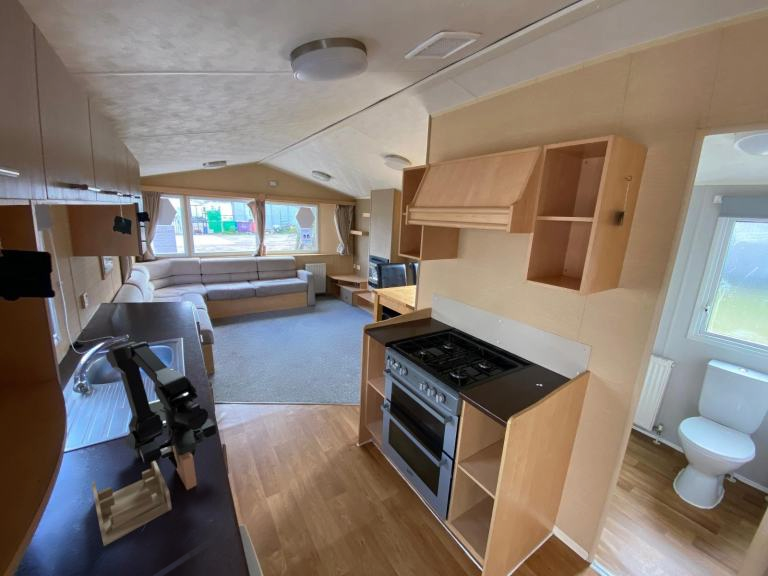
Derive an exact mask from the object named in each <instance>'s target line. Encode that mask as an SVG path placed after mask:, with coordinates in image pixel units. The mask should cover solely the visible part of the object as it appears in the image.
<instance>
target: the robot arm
mask: <svg viewBox="0 0 768 576" xmlns="http://www.w3.org/2000/svg"><path fill="white" fill-rule="evenodd" d="M105 357H106V360H107V362H108V363H109V364H110V366H111V368H113V370H115V371H116V372H118V373H119V374H120V376H121V380H122V383H123V387H124V390H125V395H126V398H127V401H128V404H129V408H130V411H131V412H130V413H131V416H132V417H131V419H130V421H129V423H128V430H129V433H128V434H127V435H126V438H125V439H124V441H125V443H126V445H127V447H129V448H131V449H132V450H134V451H135V455H136V456H135V457H136V459H137V460H138V461H143V464H144V465H148V464H151V462H153V461H157V460H159V459H160V458H161V459H168V460H169V461H170V462H171V463H172V464H173V465H172V466H174V468H175V469H176V468H178V466H177V462H176V459H175V456H174V452H173V447H172V446H175V449H176V451H177V454H178V455H179V456H181V455H184V454H185V453H187V452H191V454H192V456H193V458H194V457H195V453H196V450H197V447H198V446H199V444H201V443H203V442H204V437H205V438H209V437H212V436H214V435H216V434H218V426H217V424H216V423H215V422H214V421H213V420H212V419H211V418H209V413H208V411H207V409H206V408H204V407H201V405H200V404H199V403H196V402H194V400H195V399H197V398H198V397H199V396H198V394H197V390H196V388H195V387H194V385H193V384H192V383H191V381H190V379H189V377H187V376H185V375H184V374H183V373H182V372H180V371H179V370H174V369H171V368H169V367H168V366H167V365H166V363H164V362H163V361H162V360H161V358H159V356H158V355H156V353H155V352H154V351H153V350H152V349H151V348H150V345H149V343H148V342H147V341H140V342H136V341H133V340H132V341H129V342H125V343H122V344H119V345H115V346H112V347H109V349H108V351H107V352H106V353H105ZM140 369H141V370H142V371H143V372H144V373H145V375H146V376H148V378H149V379H150V380H151V381H152V382H153V383H154V386H153V387H154V389H153V391H154V393H155V395H156V397H157V400H160V403H162V404H163V405H164V412H165V419H166V426H165V427H166V433H167V438H168V439H167V440H165V441H164V442H161V443H158V441H157V438H158V437H160V436H162V435H163V433H164V427H163V421H162V420H161V419H160V415H158V414H156V413H154V412H153V411H151V409H150V405H149V402H150V401H149V399H148V394H147V391H146V388H145V385H144V384H145V383H144V380H143V377H142V373H141V371H140ZM187 392H188V394H187V395H185V396H183V397H179V396H181V395H183V394H185V393H187Z"/></svg>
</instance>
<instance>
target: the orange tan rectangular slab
mask: <svg viewBox="0 0 768 576" xmlns="http://www.w3.org/2000/svg"><path fill="white" fill-rule="evenodd" d="M171 448H172V450H173V452H174V456H175V459H176V462H177V466H178V468H175V471H177V474H178V475H179V478H180V479H181V481H182V483H183V484H184V485H183V486H184V487H185V489H186V491H188V490H190V489H193V488H194V487H196V486H197V476H196V471H195V469H196V468H195V461H194V457H193V456H192V454H191V452H187V453H185V454H184V455H181V456H179V455H178V454H177V451H176V449H175V446H172V447H171Z"/></svg>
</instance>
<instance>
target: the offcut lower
mask: <svg viewBox="0 0 768 576" xmlns="http://www.w3.org/2000/svg"><path fill="white" fill-rule="evenodd" d="M151 496H152V501H153V505H152V506H150V507H148V508H146V509H144V510H142V511H140V512H138V513H137V514H135V515H133V516H131V517H129V518H127V519H125V520H123V521H121V522H119V523H117V524H115V525H114V522H113V517H112V515H111V516H109V517H110V522H111V526H112V531H113V530H115V529H117V528H119V527H121V526H123V525H125V524H126V523H128V522H130V521H132V520H134V519H136V518H138V517H140V516H142V515H143V514H145V513H147V512H149V511H151V510H153V509H155V508H157V507H159V506H160V500H159V498H158V495H157V493H155V494H153V495H151Z"/></svg>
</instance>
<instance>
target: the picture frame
mask: <svg viewBox="0 0 768 576" xmlns="http://www.w3.org/2000/svg"><path fill="white" fill-rule="evenodd" d="M187 394H189V393H188V392H187V393H185V394H183V395H181V396H179V397H183V396H185V395H187ZM148 402H149V405H150V409H151V411H153V412H154V413H156V414H158V415H160V419H161V420H162V421H163V428H164V427H167V426H166V419H165V412H164V405H163V404H162V403H160V400H159V399H156V400H152V401H148Z"/></svg>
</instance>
